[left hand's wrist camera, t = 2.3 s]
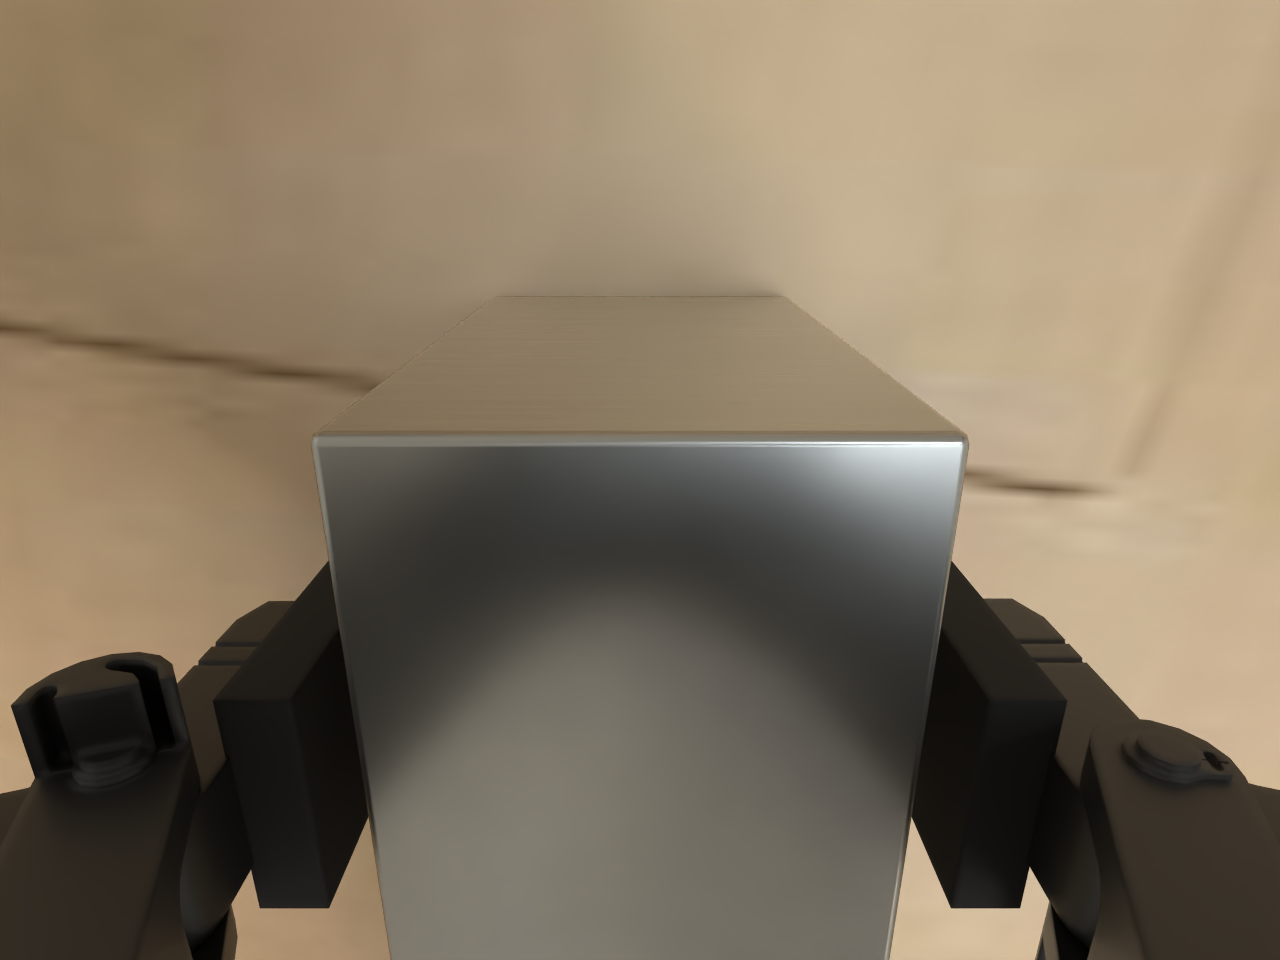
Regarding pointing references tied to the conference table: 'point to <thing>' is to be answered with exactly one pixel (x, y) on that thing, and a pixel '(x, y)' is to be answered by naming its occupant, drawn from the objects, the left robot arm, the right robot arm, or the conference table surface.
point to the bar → (640, 630)
